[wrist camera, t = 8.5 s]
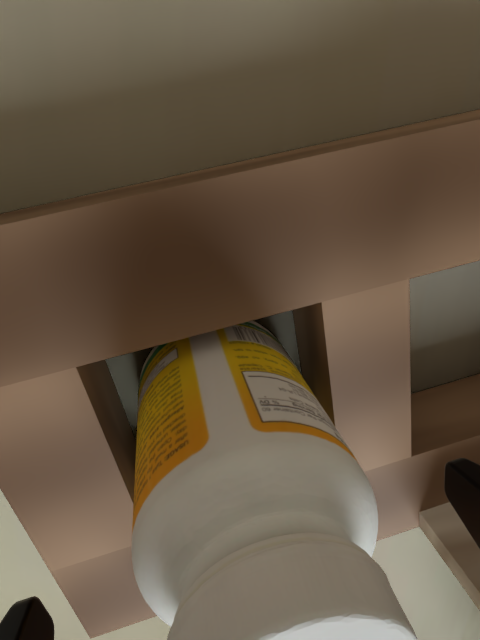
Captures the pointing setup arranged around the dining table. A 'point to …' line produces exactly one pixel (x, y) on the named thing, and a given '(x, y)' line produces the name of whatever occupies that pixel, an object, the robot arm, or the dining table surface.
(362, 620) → the supplement bottle
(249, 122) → the dining table surface
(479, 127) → the socket board
